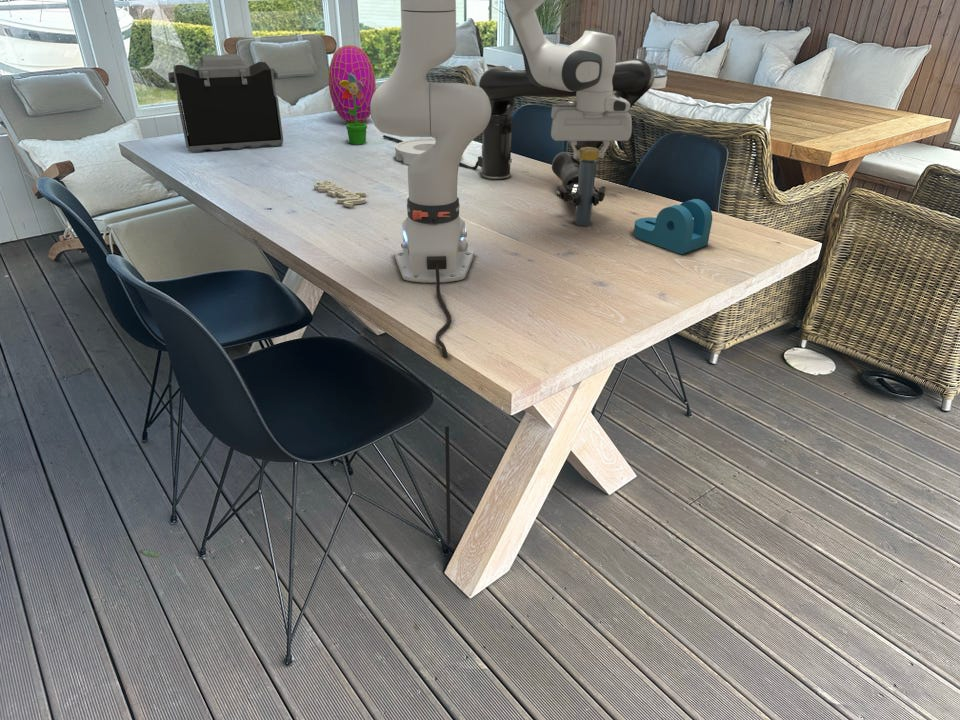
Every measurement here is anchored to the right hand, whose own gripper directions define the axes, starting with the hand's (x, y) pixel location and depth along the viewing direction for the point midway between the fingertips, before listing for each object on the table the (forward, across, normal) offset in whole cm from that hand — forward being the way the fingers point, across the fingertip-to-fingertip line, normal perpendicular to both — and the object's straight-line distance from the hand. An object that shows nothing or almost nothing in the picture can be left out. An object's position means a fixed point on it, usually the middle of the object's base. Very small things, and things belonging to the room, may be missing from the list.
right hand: (586, 202), depth 180 cm
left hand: (-3, 0, -11) cm, 11 cm away
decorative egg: (-130, -78, +7) cm, 151 cm away
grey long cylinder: (-3, 0, +7) cm, 7 cm away
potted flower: (-93, -72, +7) cm, 118 cm away
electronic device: (-92, -118, +7) cm, 150 cm away
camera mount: (+10, +19, +7) cm, 23 cm away
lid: (-3, 0, -13) cm, 13 cm away
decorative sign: (-28, -69, +7) cm, 74 cm away
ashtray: (-71, -44, +7) cm, 84 cm away
